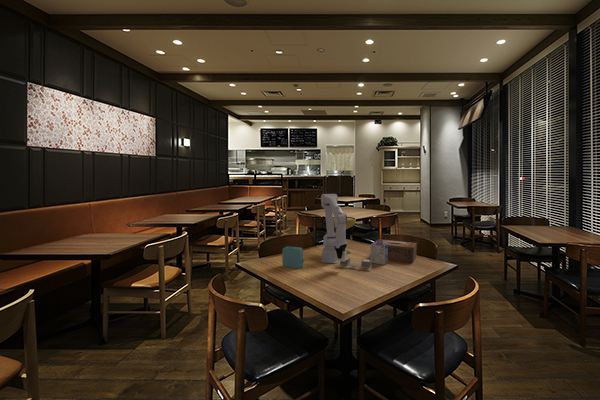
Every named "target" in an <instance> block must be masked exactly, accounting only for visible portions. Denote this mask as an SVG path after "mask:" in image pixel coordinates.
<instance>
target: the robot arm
mask: <svg viewBox="0 0 600 400" xmlns="http://www.w3.org/2000/svg"><path fill="white" fill-rule="evenodd" d="M338 198H339V197H338V195H337V193H322V194H321V196H320V202H321V203H320V204H321V208H323V210H324V216H325V225H326V234H324V235H323V238H322V239H323V241H322V244H323V245H322V246H323V248H322V250H321V263H328V264H334V265H335V264H337V263H338V262H339V261H336V260H335V251H336V253H337V257H338V258H339V259H341V258H342V253H343V251H346V248H347V246H348V243H349V242H347V241H346V240H347V239H346V235H347V233H346V232H347V231H346V230H347V229H346V224H347V217H348V215H347V214H346V213H344V212H343V210H342V208H341V206H339V205H338ZM333 217H335V218H334V220H335V227H334V224H333Z"/></svg>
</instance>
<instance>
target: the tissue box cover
mask: <svg viewBox="0 0 600 400" xmlns="http://www.w3.org/2000/svg"><path fill="white" fill-rule="evenodd" d="M377 240H380V239H379V238H378V239H377ZM377 240H375V242H373V243H377ZM382 240H383V243H382V244H388V261H389V260H390V261H396V262H403V263H405V262H406V263H414V262H415V261H416V259H417V247H418V246H417V242H408V241H399V240H389V239H382ZM378 242H381V241H378Z"/></svg>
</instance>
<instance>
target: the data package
mask: <svg viewBox="0 0 600 400" xmlns="http://www.w3.org/2000/svg"><path fill="white" fill-rule="evenodd" d="M281 252H282V255H281V256H282V267H284V268H291V269H299V270H300V269H301V268H302V267H303V266H304V249H303V247H300V246H299V247H298V246H290V245H289V246H288V245H287V246H285V247H283V248H282V251H281Z"/></svg>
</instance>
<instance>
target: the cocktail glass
mask: <svg viewBox="0 0 600 400" xmlns="http://www.w3.org/2000/svg"><path fill="white" fill-rule="evenodd" d="M334 218H335V217H334V216H333V224H334V228H336V227H335V220H334ZM356 221H357V219H356V218H355V217H352V216H347V224H346V230H348V229H350V228H352V227H353V226H354V225H356ZM346 251H347V255H349V254H351V251H349V250H346Z"/></svg>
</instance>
